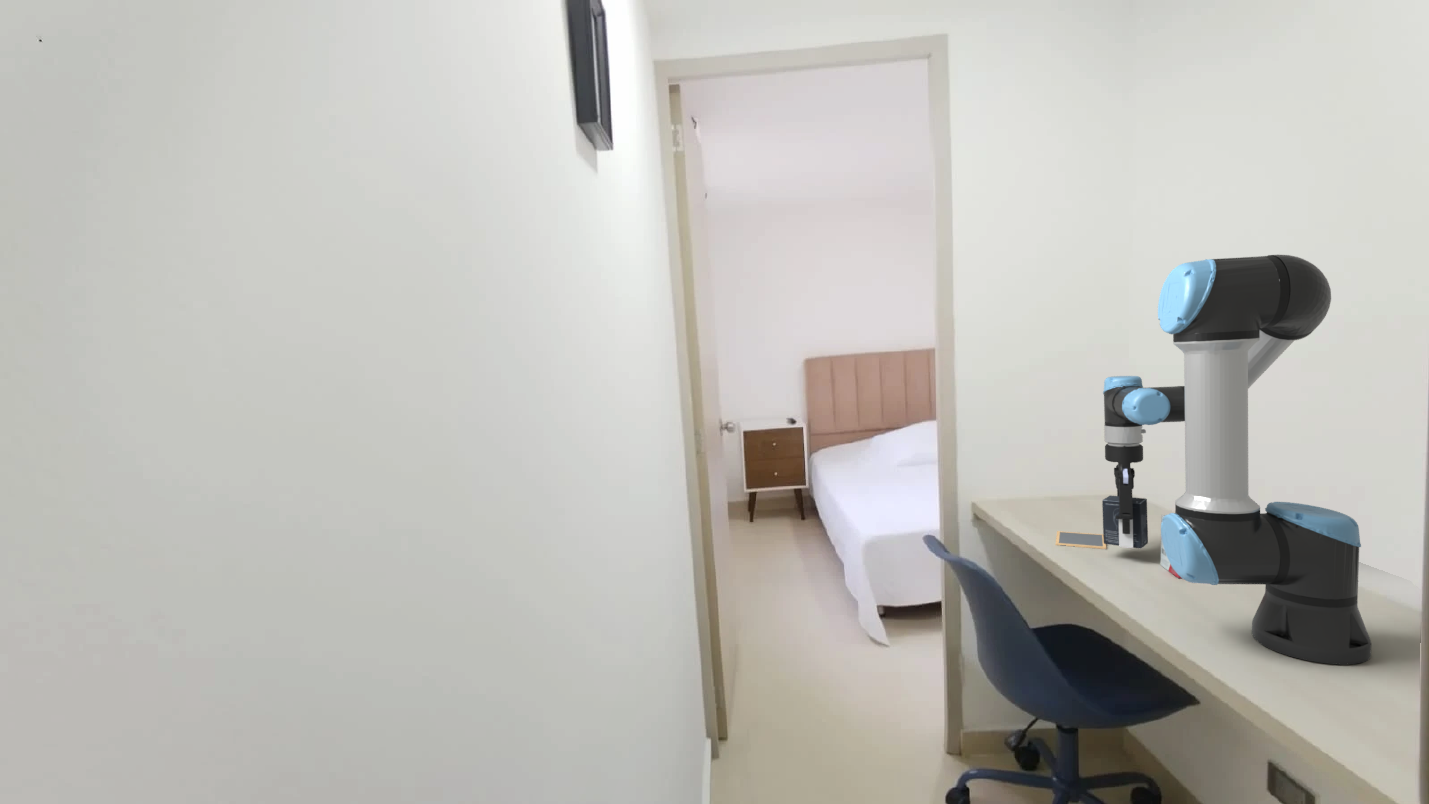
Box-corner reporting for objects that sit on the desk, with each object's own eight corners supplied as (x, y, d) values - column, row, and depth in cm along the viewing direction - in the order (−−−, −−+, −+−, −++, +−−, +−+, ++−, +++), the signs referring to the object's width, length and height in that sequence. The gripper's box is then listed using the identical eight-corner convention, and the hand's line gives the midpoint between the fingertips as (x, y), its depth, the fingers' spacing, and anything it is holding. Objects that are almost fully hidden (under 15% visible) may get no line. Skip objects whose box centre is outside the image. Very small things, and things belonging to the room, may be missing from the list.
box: (1148, 543, 159) (1147, 498, 159) (1141, 549, 156) (1140, 503, 155) (1110, 538, 165) (1109, 494, 164) (1102, 544, 161) (1101, 499, 160)
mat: (1106, 549, 168) (1106, 547, 168) (1055, 545, 173) (1055, 543, 173) (1105, 535, 177) (1105, 534, 177) (1057, 532, 183) (1057, 531, 183)
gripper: (1146, 450, 148) (1147, 556, 150) (1139, 437, 165) (1141, 532, 167) (1106, 450, 152) (1107, 553, 153) (1103, 437, 169) (1105, 530, 171)
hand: (1125, 542), depth 160 cm, fingers closed on box, 7 cm apart
